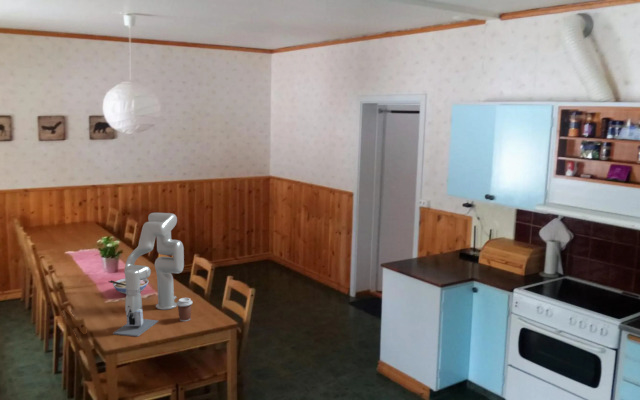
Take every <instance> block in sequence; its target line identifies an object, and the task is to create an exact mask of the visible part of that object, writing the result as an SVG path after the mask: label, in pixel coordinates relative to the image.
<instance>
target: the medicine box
mask: <svg viewBox="0 0 640 400" xmlns="http://www.w3.org/2000/svg"><path fill="white" fill-rule="evenodd" d="M131 312H132V311H131ZM125 315H126V314H125ZM131 315H132V314H131ZM134 318H135V325H130V324H129V318H128V316H127V315H126V324H127V326H141V325H142V324H143V319H144V313H143V308H141V309H139V310H138V311H136V312H135V313H134Z"/></svg>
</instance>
